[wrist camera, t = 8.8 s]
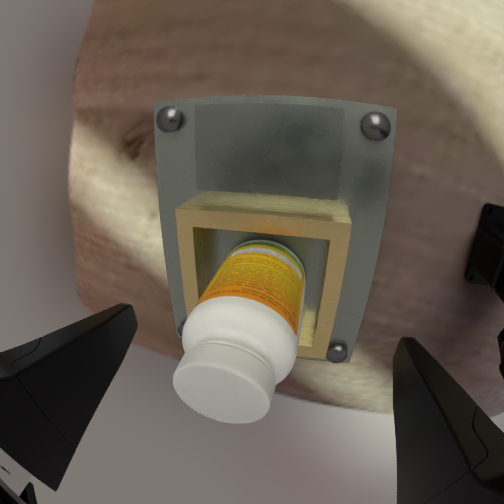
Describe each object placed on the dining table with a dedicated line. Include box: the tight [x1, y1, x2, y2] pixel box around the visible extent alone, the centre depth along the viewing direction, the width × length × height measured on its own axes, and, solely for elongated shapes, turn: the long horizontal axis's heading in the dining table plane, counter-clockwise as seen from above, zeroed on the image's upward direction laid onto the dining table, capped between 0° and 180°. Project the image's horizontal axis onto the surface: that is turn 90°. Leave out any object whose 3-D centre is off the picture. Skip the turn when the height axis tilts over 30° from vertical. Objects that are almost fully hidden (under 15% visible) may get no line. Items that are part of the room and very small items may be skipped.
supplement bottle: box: [173, 240, 306, 424], centre depth 14 cm, size 5×5×10 cm
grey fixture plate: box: [154, 95, 397, 363], centre depth 18 cm, size 14×18×5 cm
